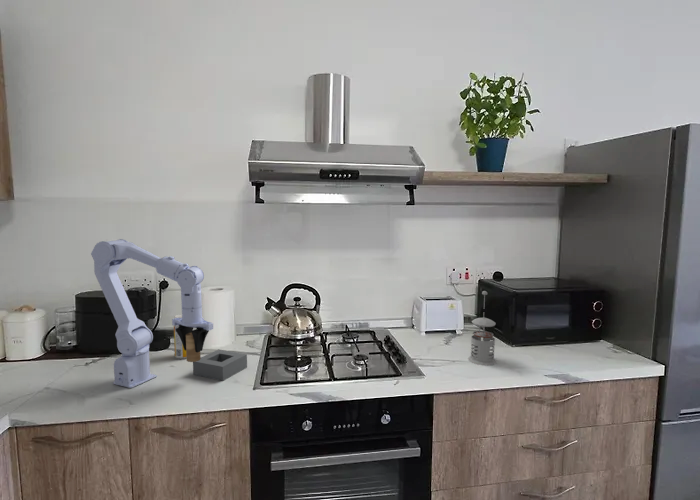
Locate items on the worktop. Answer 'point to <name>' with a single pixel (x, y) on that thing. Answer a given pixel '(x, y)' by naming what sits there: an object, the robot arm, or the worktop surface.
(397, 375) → the worktop surface
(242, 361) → the socket block
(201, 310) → the robot arm
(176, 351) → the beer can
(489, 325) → the french press
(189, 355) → the dowel
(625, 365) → the worktop surface
